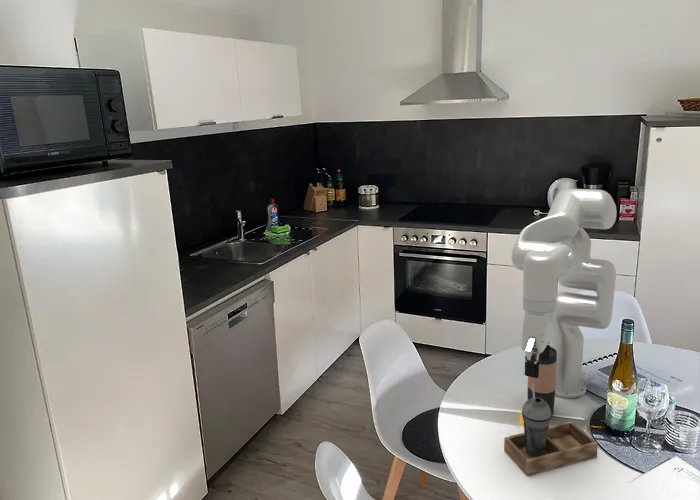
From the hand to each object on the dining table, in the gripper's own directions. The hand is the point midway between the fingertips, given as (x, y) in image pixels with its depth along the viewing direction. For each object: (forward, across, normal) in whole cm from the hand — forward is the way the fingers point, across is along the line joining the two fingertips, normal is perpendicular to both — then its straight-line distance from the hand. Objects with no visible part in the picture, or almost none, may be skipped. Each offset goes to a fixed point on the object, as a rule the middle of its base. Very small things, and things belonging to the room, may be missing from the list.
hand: (537, 367), depth 137 cm
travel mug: (+26, -20, -4) cm, 34 cm away
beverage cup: (+25, -1, 0) cm, 25 cm away
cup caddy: (+26, -3, +3) cm, 26 cm away
